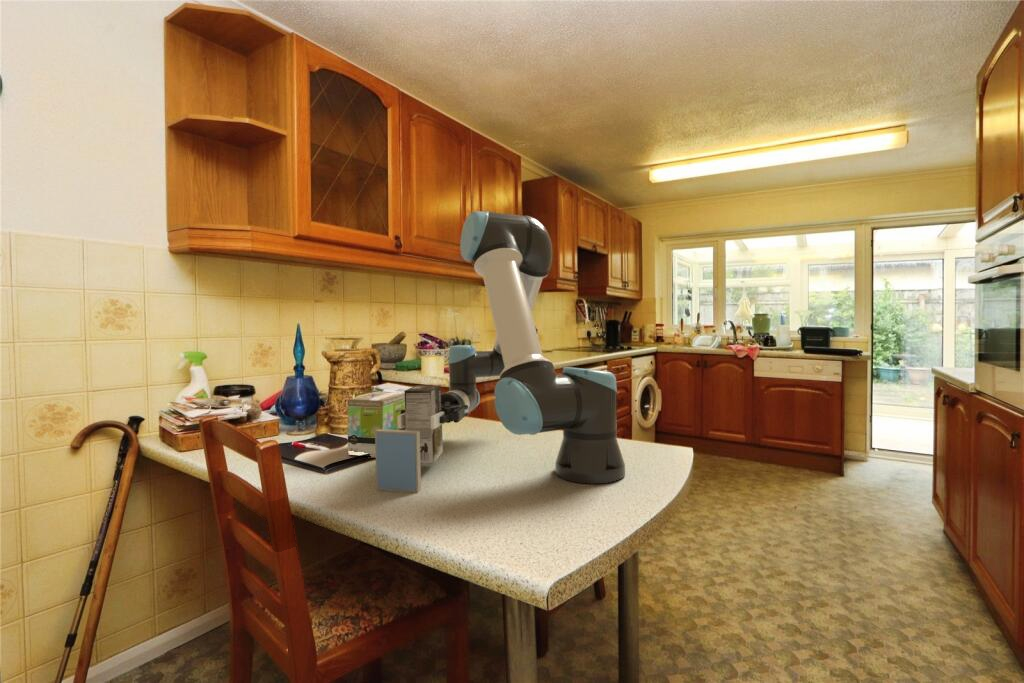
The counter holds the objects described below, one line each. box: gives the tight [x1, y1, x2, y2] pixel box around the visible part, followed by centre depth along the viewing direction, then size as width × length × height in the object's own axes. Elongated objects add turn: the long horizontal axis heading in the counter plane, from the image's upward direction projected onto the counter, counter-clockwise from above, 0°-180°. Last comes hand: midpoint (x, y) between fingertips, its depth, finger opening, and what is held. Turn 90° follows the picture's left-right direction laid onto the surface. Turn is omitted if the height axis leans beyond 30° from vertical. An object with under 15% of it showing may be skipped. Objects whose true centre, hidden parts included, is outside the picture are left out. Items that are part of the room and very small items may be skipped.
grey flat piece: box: [375, 429, 422, 494], centre depth 97 cm, size 9×2×12 cm, turn 77°
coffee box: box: [403, 384, 444, 464], centre depth 111 cm, size 9×6×16 cm
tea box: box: [347, 391, 406, 458], centre depth 129 cm, size 15×10×15 cm, turn 168°
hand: (415, 422), depth 106 cm, fingers closed on coffee box, 7 cm apart
